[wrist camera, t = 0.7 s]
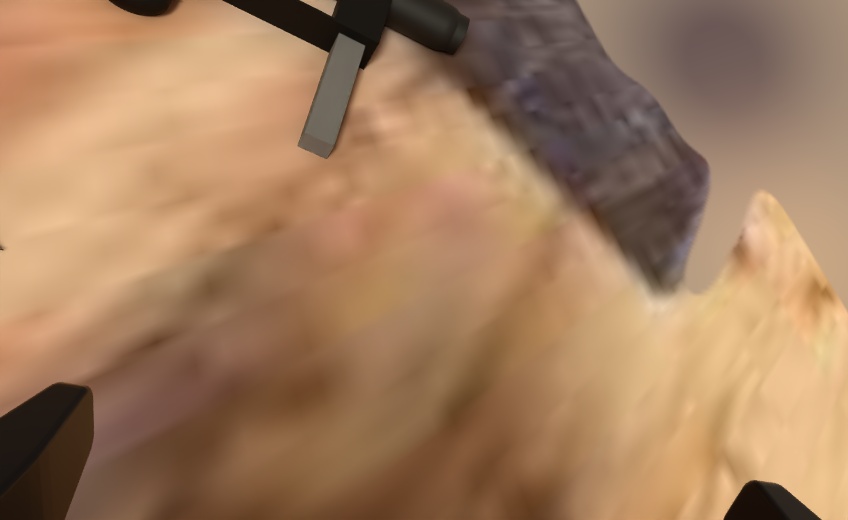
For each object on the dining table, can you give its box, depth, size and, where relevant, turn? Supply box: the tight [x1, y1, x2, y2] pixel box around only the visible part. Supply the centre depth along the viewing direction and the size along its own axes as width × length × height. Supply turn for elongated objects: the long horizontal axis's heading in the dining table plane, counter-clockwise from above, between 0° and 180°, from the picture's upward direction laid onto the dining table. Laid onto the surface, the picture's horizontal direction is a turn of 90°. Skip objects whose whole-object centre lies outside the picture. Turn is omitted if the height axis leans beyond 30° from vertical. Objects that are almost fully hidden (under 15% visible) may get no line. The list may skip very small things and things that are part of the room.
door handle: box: [109, 0, 470, 159], centre depth 40 cm, size 3×20×16 cm
